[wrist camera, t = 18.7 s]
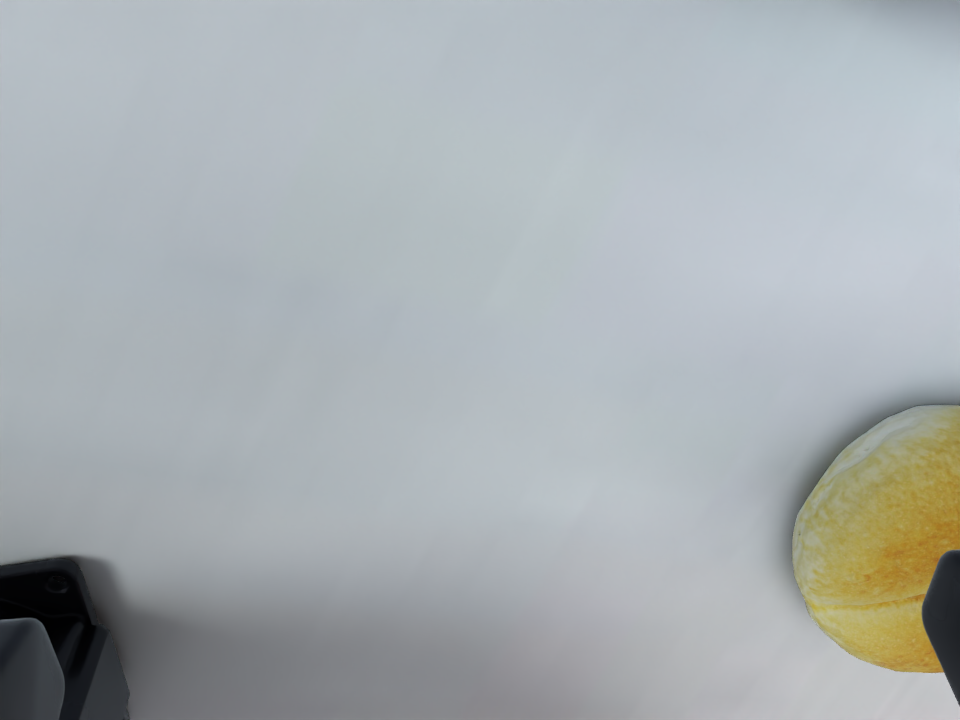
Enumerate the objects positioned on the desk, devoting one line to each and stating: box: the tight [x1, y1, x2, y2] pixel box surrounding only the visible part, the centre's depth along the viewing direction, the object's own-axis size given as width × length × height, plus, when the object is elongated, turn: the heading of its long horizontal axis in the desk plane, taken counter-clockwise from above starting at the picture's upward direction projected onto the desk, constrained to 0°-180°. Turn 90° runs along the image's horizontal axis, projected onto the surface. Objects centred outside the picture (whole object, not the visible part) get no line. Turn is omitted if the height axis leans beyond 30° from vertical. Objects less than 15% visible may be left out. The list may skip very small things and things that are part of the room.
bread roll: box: [792, 405, 960, 673], centre depth 24 cm, size 8×9×4 cm
